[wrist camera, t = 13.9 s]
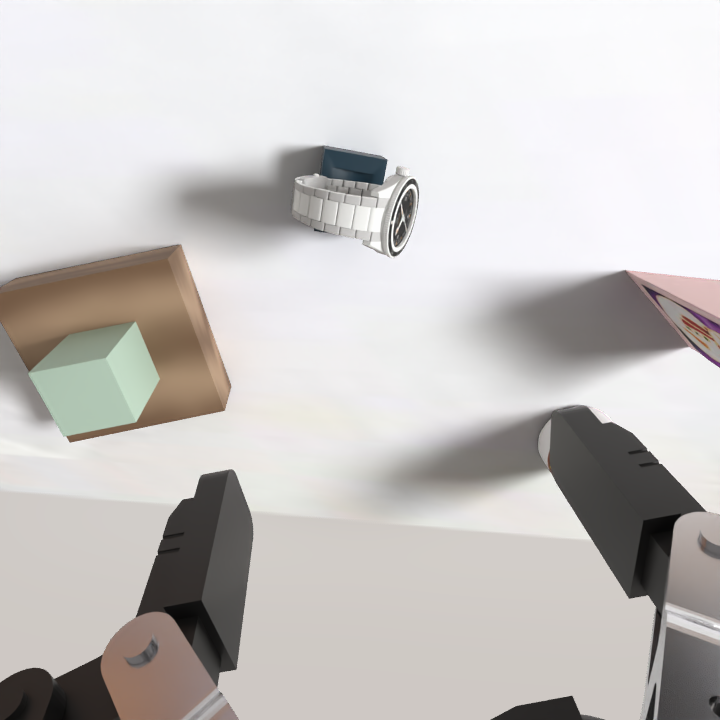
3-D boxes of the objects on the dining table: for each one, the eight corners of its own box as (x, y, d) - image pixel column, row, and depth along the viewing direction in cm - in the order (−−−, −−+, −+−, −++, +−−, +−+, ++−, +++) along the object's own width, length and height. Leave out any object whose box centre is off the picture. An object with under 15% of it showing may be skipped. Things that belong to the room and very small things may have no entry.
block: (68, 334, 36) (27, 373, 31) (135, 321, 36) (105, 357, 31) (97, 391, 38) (63, 436, 33) (159, 378, 38) (136, 422, 33)
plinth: (15, 278, 38) (-15, 296, 34) (180, 244, 38) (167, 258, 34) (89, 415, 44) (70, 442, 40) (231, 386, 44) (224, 410, 40)
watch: (392, 234, 39) (419, 275, 29) (290, 218, 38) (284, 256, 28) (407, 159, 37) (442, 177, 27) (299, 139, 35) (295, 151, 26)
